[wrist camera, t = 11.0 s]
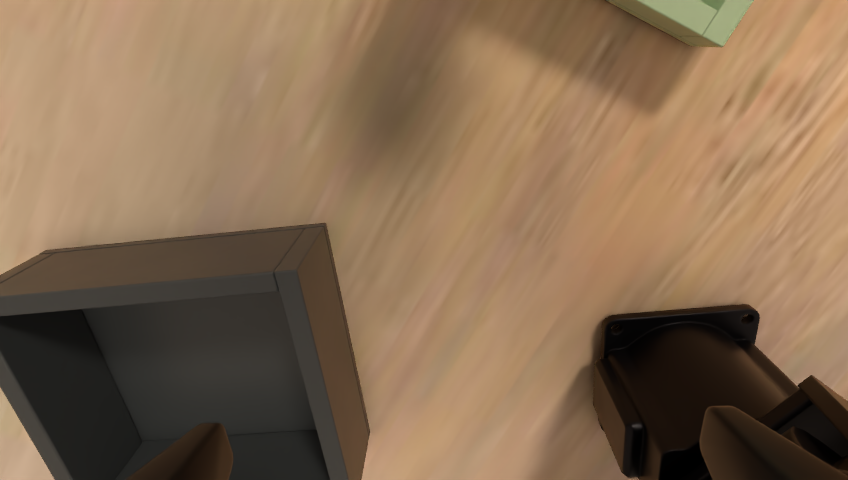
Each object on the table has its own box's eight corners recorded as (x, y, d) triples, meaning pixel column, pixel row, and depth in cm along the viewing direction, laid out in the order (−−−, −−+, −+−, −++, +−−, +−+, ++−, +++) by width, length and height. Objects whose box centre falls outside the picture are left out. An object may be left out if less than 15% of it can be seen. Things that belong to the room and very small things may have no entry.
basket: (326, 222, 20) (296, 270, 16) (370, 431, 24) (356, 510, 20) (45, 250, 20) (-52, 301, 16) (138, 446, 25) (80, 525, 21)
